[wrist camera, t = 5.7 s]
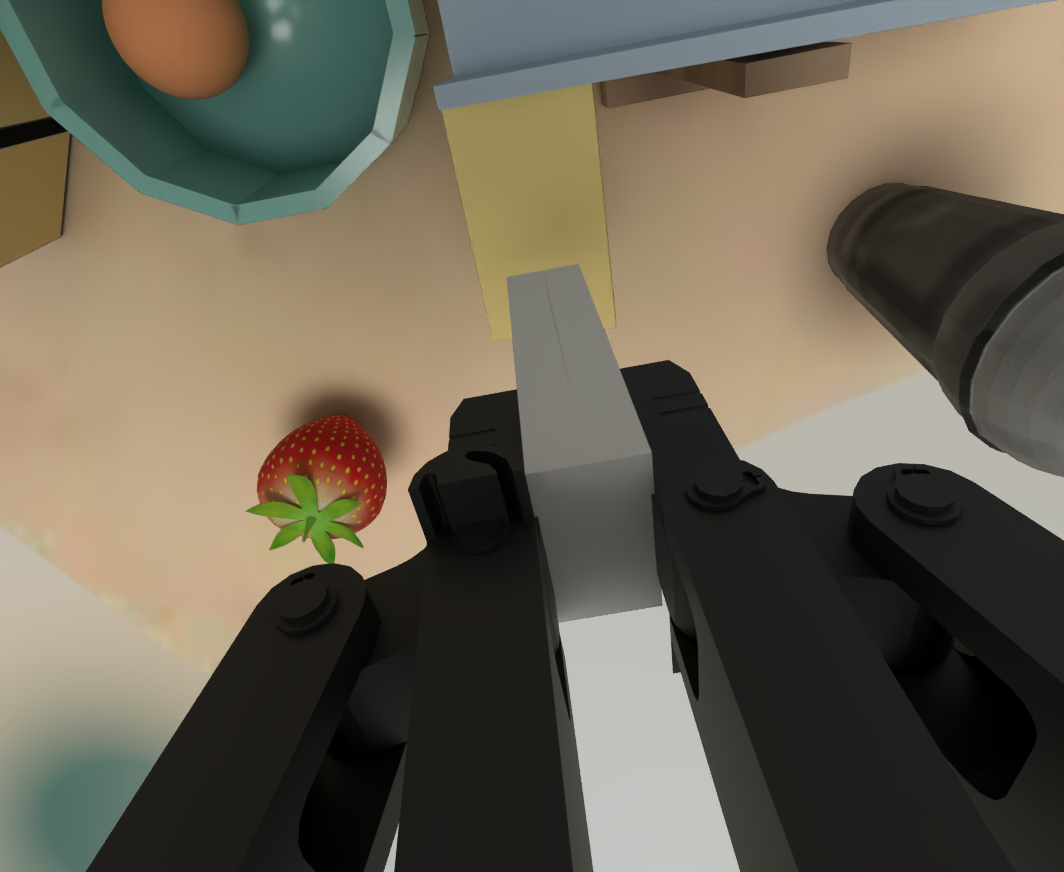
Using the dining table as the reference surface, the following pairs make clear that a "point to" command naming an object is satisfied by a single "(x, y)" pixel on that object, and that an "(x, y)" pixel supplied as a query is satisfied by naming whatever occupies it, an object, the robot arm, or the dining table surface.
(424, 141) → the dining table surface
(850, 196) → the dining table surface
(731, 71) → the stand
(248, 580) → the dining table surface
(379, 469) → the fruit
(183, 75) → the ball
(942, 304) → the beverage cup
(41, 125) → the puzzle cube
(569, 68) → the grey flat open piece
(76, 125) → the bowl
